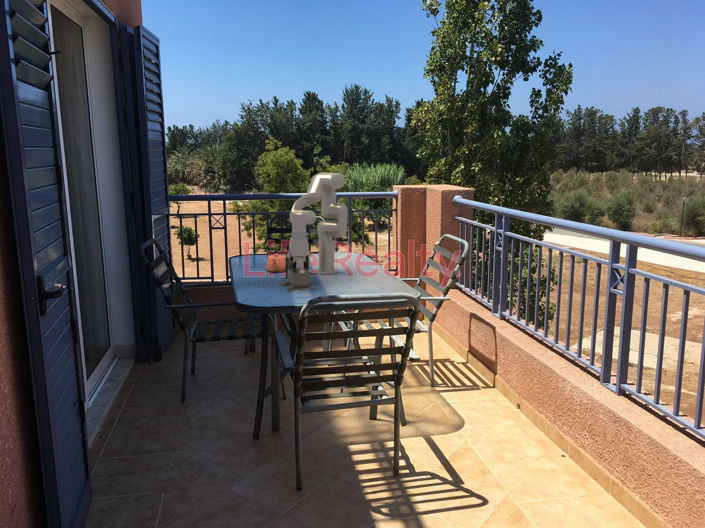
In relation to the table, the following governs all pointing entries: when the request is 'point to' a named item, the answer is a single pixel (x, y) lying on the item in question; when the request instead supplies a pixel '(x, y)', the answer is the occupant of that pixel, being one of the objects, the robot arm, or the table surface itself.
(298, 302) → the table surface
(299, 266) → the column
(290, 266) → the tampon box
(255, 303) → the table surface
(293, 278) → the stand base
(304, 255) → the robot arm
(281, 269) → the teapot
